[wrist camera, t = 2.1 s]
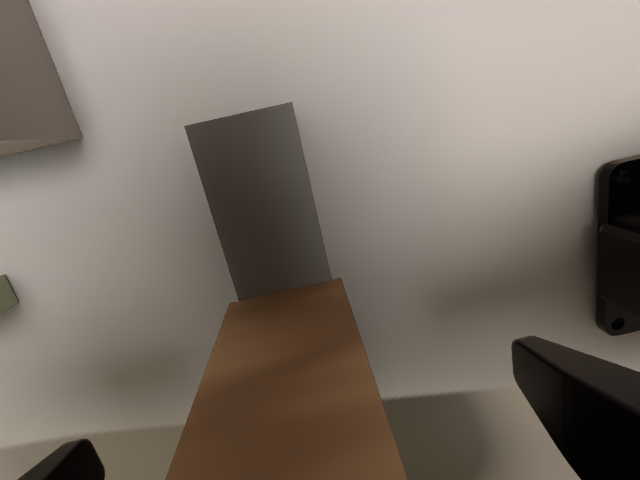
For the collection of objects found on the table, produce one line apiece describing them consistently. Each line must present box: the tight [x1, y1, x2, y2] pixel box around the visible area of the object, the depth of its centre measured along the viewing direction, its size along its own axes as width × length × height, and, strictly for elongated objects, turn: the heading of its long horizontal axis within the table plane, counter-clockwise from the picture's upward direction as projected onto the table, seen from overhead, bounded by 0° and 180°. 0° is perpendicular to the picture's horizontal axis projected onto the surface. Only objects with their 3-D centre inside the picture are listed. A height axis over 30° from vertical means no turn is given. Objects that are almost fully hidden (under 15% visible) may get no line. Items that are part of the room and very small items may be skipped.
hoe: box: [165, 102, 408, 480], centre depth 9 cm, size 3×12×9 cm, turn 12°
